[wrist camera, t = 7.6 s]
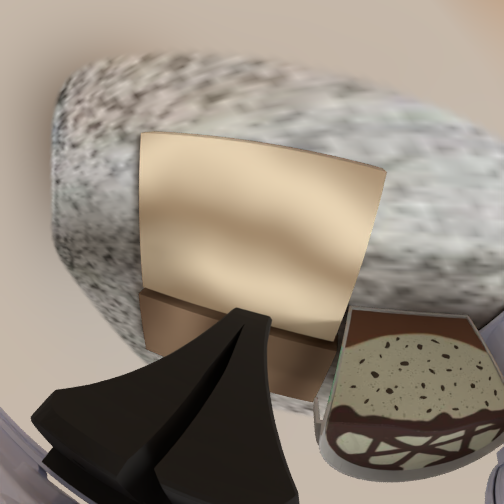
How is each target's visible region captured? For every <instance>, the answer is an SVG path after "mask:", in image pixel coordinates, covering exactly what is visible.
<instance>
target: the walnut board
mask: <svg viewBox="0 0 504 504" xmlns="http://www.w3.org/2000/svg"><path fill="white" fill-rule="evenodd" d="M139 302H140V310H141V318H142V325H143V332H144V339H145V345H146V349H147V350H149V351H152V352H154V353H157V354H159V355H161V356H164V357H165V356H167V355H169V354H171V353H172V352H174V351H176V350H177V349H179V348H181V347H182V346H184V345H186V344H187V343H189V342H190V341H192V340H193V339H195V338H196V337H198V336H199V335H201V334H202V333H203V332H205V331H206V330H207V329H209V328H210V327H212V326H213V325H214V324H215V323H217V322H218V321H219V320H220V319H222V318H223V317H224V316H225V315H227V314H226V313H223V312H219V311H216V310H213V309H209V308H206V307H203V306H200V305H196V304H193V303H190V302H187V301H184V300H181V299H178V298H175V297H172V296H169V295H166V294H163V293H160V292H157V291H154V290H151V289H148V288H144V289H143V290H142V291H141V292H140V293H139ZM337 344H338V335H336V336H335V339H334V341H329V340H324V339H320V338H316V337H312V336H308V335H304V334H299V333H295V332H292V331H288V330H284V329H280V328H276V327H272V326H271V328H270V333H269V338H268V343H267V368H268V381H269V391H270V392H272V393H275V394H279V395H283V396H287V397H291V398H296V399H300V400H304V401H309V402H313V401H314V398H315V397H316V395H317V393H318V391H319V389H320V387H321V385H322V383H323V381H324V379H325V376H326V374H327V372H328V370H329V368H330V366H331V364H332V361H333V359H334V357H335V355H336V353H337Z"/></svg>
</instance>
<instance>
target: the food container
mask: <svg viewBox="0 0 504 504" xmlns="http://www.w3.org/2000/svg"><path fill="white" fill-rule="evenodd" d="M313 412H314V425H315V436H316V441H317V443H318V445H319V449H320V453H321V455H322V457H323V459H324V460H325V461H326V462H327V463H328V464H329V465H330V466H331V467H333V468H334V469H336V470H337V471H339V472H341V473H343V474H345V475H348V476H351V477H355V478H357V479H362V480H367V481H375V482H405V481H414V480H420V479H426V478H430V477H434V476H438V475H441V474H445V473H448V472H451V471H454V470H456V469H459V468H461V467H464V466H466V465H468V464H470V463H472V462H474V461H476V460H478V459H480V458H482V457H483V456H485V455H487V454H488V453H490V452H492V451H493V450H495V449H496V448H497V447H499V446H500V445H502V444H503V443H504V377H503V375H502V373H501V371H500V369H499V367H498V365H497V363H496V362H495V360H494V358H493V356H492V354H491V352H490V351H489V349H488V347H487V345H486V343H485V342H484V340H483V338H482V337H481V335H480V333H479V331H478V330H477V328H476V327H475V325H474V323H473V322H472V320H471V318H470V317H469V315H457V314H442V313H428V312H415V311H402V310H391V309H380V308H370V307H360V306H350V305H349V310H348V316H347V321H346V326H345V331H344V336H343V341H342V346H341V351H340V355H339V360H338V364H337V368H336V372H335V377H334V381H333V385H332V388H331V392H330V396H329V400H328V403H327V407H326V411H325V414H324V418H323V420H320V415H319V405H318V398H314V407H313Z"/></svg>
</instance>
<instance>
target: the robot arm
mask: <svg viewBox="0 0 504 504" xmlns="http://www.w3.org/2000/svg"><path fill="white" fill-rule="evenodd" d="M271 324H272V319H271V317H270V316H267V315H263V314H259V313H255V312H252V311H248V310H244V309H241V308H237V307H236V308H234V309H232V310H231V311H230V312H229V313H228V314H227V315H225V316H224V317H223V318H222V319H220V320H219V321H218V322H217V323H215V324H214V325H213V326H212V327H210V328H209V329H207V330H206V331H205V332H203V333H202V334H201V335H199V336H198V337H196V338H195V339H193V340H192V341H190V342H189V343H187V344H186V345H184V346H182V347H181V348H179V349H177V350H176V351H174V352H172V353H171V354H169V355H167V356H165V357H163V358H161V359H159V360H157V361H155V362H153V363H151V364H149V365H147V366H145V367H142V368H140V369H137V370H135V371H133V372H130V373H127V374H125V375H122V376H119V377H115V378H112V379H109V380H105V381H101V382H98V383H94V384H90V385H85V386H79V387H73V388H66V389H59V390H55V391H54V392H53V393H52V394H51V395H50V396H49V397H48V398H47V399H46V400H45V401H44V403H43V404H42V405H41V406H40V407H39V408H38V409H37V410H36V411H35V412H34V414H33V415H32V416H31V421H32V423H33V424H34V426H35V427H36V428H37V429H38V431H39V432H40V433H41V434H42V435H43V436H44V437H45V439H46V440H47V441H48V442H49V443H50V444H51V445H52V446H53V448H52V449H51V450H50V451H49V453H47V452H46V451H45V450H44V449H43V448H41V447H40V446H39V445H38V444H37V443H36V442H35V441H34V440H33V439H31V438H30V437H29V436H28V435H27V434H26V433H25V432H24V431H23V430H22V429H21V428H20V427H19V426H18V425H17V424H16V423H15V422H14V421H13V420H12V419H11V418H10V417H9V416H8V415H7V414H6V413H5V412H4V410H3V409H2V408H1V407H0V504H79V503H78V502H77V501H76V500H74V499H73V498H72V497H70V496H69V495H68V494H66V493H65V492H64V491H62V490H61V489H59V488H58V487H57V486H55V485H54V484H53V483H51V482H50V481H49V480H48V479H47V473H46V472H48V473H49V474H50V475H51V476H52V477H54V478H55V479H56V480H58V481H59V482H60V483H61V484H62V485H64V486H65V487H66V488H68V489H69V490H70V491H72V492H73V493H74V494H76V495H77V496H78V497H80V498H81V499H83V500H84V501H86V502H87V503H89V504H299V497H298V491H297V489H296V486H295V484H294V481H293V479H292V477H291V474H290V471H289V468H288V465H287V463H286V459H285V456H284V453H283V450H282V447H281V443H280V440H279V436H278V432H277V428H276V424H275V420H274V415H273V410H272V404H271V398H270V391H269V381H268V368H267V343H268V338H269V333H270V328H271ZM479 333H480V335H481V337H482V338H483V340H484V342H485V343H486V345H487V347H488V349H489V351H490V352H491V354H492V356H493V358H494V360H495V362H496V363H497V365H498V367H499V369H500V371H501V373H502V375H503V377H504V311H503V312H502V313H501V314H500V315H498V316H497V317H496V318H495V319H493V320H492V321H491V322H490V323H488V324H487V325H486V326H485V327H483V328H482V329H481V330H479ZM497 459H498V464H497V465H496V466H495V468H494V469H493V470H492V472H491V474H490V476H489V479H488V483H487V488H486V492H485V504H504V447H503V448H502V449H501V450H500V451H498V452H497Z"/></svg>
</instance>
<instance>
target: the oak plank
mask: <svg viewBox="0 0 504 504" xmlns="http://www.w3.org/2000/svg"><path fill="white" fill-rule="evenodd" d="M386 173H387V172H386V171H385V170H384V169H382V168H379V167H376V166H372V165H368V164H364V163H361V162H357V161H353V160H348V159H344V158H340V157H336V156H331V155H327V154H322V153H317V152H312V151H308V150H302V149H297V148H292V147H286V146H281V145H275V144H269V143H262V142H256V141H249V140H242V139H234V138H226V137H217V136H208V135H198V134H187V133H173V132H157V131H154V132H144V133H141V142H140V167H139V226H140V251H141V267H142V281H143V287H145V288H148V289H151V290H154V291H157V292H160V293H163V294H166V295H169V296H172V297H175V298H178V299H181V300H184V301H187V302H190V303H193V304H196V305H200V306H203V307H206V308H209V309H213V310H216V311H219V312H223V313H226V314H228V313H229V312H230V311H231V310H232V309H234V308H236V307H237V308H241V309H244V310H248V311H252V312H255V313H259V314H263V315H267V316H270V317H271V319H272V324H271V326H272V327H276V328H280V329H284V330H288V331H292V332H295V333H299V334H304V335H308V336H312V337H316V338H320V339H324V340H329V341H334V339H335V336H336V334H337V331H338V329H339V326H340V324H341V321H342V318H343V316H344V313H345V311H346V308H347V305H348V302H349V300H350V297H351V294H352V291H353V288H354V285H355V282H356V280H357V277H358V274H359V271H360V267H361V264H362V261H363V258H364V255H365V252H366V248H367V245H368V242H369V238H370V235H371V232H372V228H373V225H374V221H375V217H376V214H377V210H378V206H379V202H380V198H381V194H382V190H383V186H384V182H385V177H386Z"/></svg>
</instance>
